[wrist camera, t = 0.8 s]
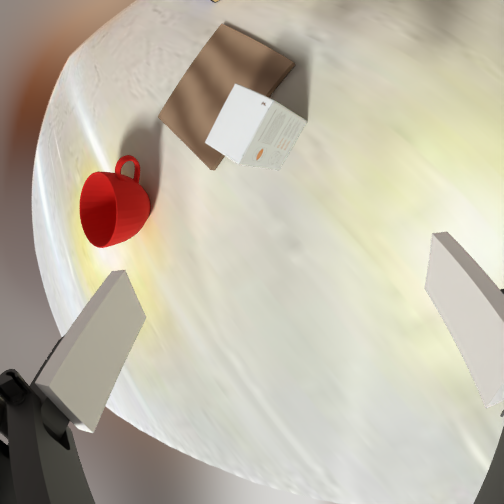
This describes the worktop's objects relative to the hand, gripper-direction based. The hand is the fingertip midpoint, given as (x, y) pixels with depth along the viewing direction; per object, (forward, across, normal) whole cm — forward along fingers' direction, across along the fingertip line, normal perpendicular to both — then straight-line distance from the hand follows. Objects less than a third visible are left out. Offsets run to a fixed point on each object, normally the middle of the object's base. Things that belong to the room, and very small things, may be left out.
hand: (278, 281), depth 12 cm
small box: (+32, 0, +1) cm, 32 cm away
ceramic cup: (+40, -26, -6) cm, 48 cm away
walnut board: (+38, -7, +10) cm, 40 cm away
